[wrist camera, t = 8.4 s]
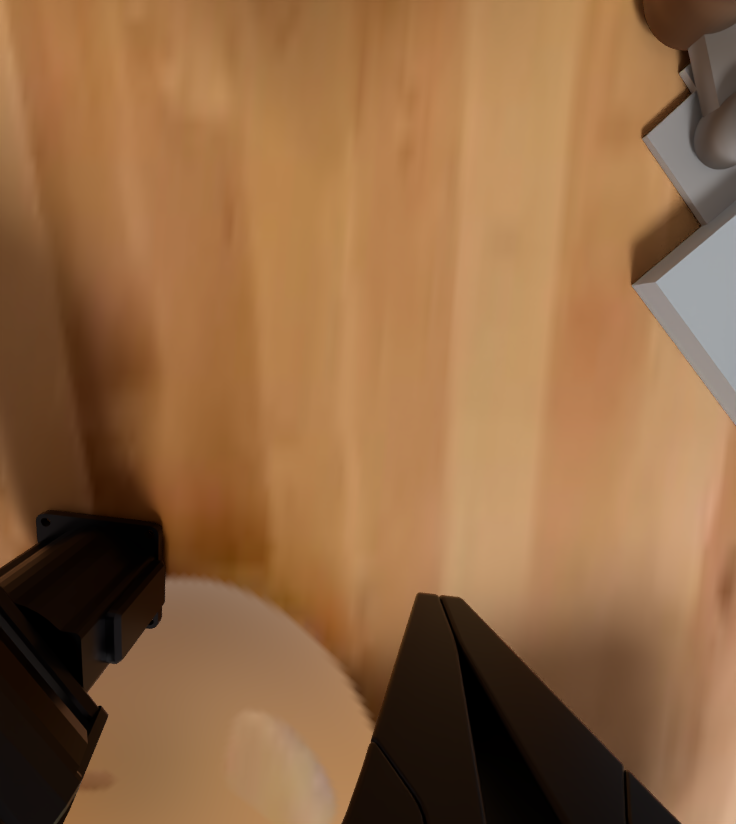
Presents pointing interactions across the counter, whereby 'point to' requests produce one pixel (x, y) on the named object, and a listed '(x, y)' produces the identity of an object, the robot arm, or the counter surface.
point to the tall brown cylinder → (705, 67)
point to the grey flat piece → (697, 256)
